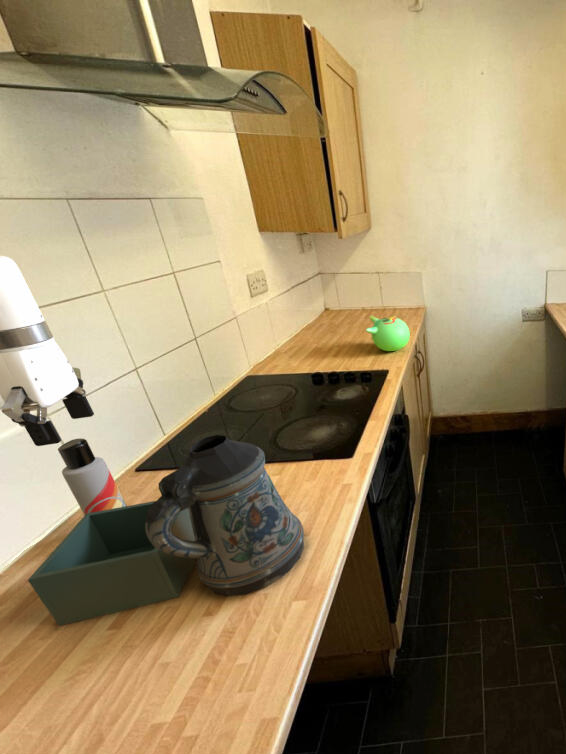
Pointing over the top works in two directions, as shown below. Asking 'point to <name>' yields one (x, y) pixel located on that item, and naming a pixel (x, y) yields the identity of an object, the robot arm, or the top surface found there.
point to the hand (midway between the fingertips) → (67, 429)
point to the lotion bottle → (89, 478)
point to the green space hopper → (389, 333)
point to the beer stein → (227, 518)
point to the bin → (111, 566)
